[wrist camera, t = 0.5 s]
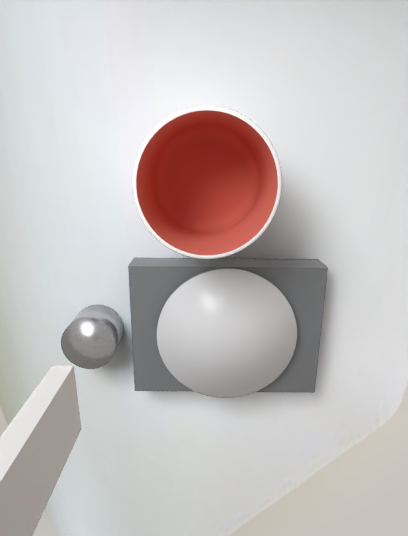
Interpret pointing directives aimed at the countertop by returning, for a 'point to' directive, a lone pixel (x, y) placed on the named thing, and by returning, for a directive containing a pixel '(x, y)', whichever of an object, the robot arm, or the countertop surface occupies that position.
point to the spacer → (92, 337)
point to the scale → (226, 324)
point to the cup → (206, 182)
